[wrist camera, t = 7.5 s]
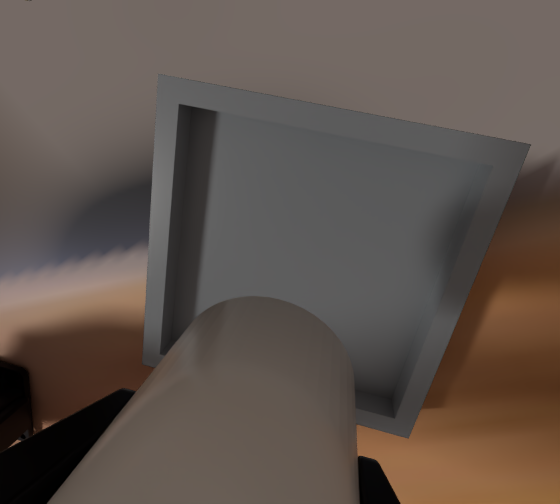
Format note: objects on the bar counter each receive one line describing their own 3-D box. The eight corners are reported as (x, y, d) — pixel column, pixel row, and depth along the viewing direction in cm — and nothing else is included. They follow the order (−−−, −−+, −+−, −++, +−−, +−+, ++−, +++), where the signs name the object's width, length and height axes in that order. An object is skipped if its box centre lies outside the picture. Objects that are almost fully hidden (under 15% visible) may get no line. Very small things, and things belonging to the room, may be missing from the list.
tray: (159, 344, 22) (142, 364, 20) (179, 80, 17) (158, 73, 15) (402, 410, 20) (408, 438, 18) (507, 143, 15) (531, 144, 13)
